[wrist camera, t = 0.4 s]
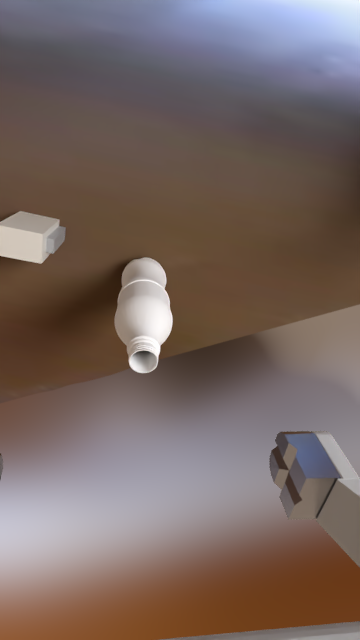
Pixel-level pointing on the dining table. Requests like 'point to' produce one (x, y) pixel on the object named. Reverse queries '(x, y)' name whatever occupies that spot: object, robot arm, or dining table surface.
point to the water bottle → (143, 313)
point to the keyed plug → (30, 237)
